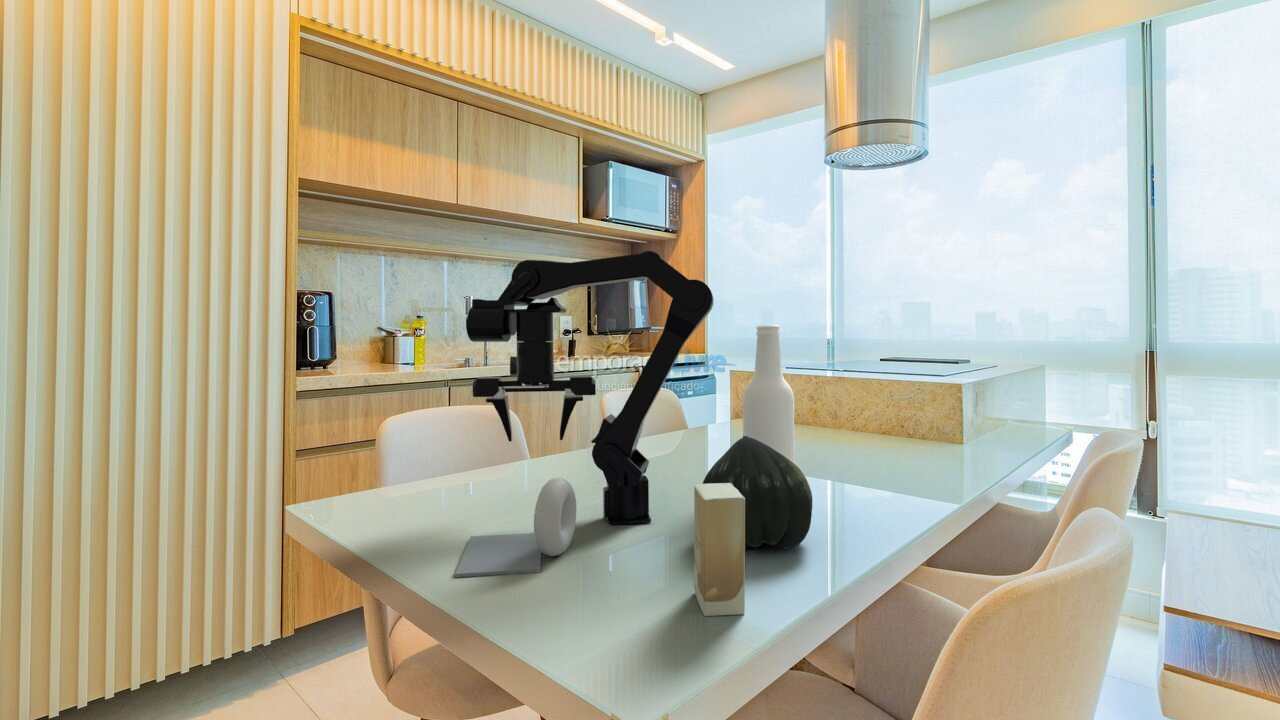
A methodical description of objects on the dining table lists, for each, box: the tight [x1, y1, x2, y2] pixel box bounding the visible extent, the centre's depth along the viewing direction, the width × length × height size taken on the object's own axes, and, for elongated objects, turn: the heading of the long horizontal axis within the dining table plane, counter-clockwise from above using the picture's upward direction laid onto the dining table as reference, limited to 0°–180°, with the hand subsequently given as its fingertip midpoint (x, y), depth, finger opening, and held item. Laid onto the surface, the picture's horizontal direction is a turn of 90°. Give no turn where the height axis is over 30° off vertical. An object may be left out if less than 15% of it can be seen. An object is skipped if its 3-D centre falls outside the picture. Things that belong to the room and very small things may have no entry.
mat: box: [454, 532, 542, 578], centre depth 81 cm, size 10×14×1 cm
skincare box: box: [693, 483, 746, 617], centre depth 65 cm, size 6×4×12 cm
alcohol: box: [742, 324, 795, 464], centre depth 108 cm, size 9×9×30 cm
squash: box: [702, 435, 813, 550], centre depth 85 cm, size 14×15×15 cm
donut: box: [533, 477, 578, 557], centre depth 81 cm, size 10×3×10 cm, turn 168°
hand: (535, 440), depth 98 cm, fingers open, 8 cm apart
